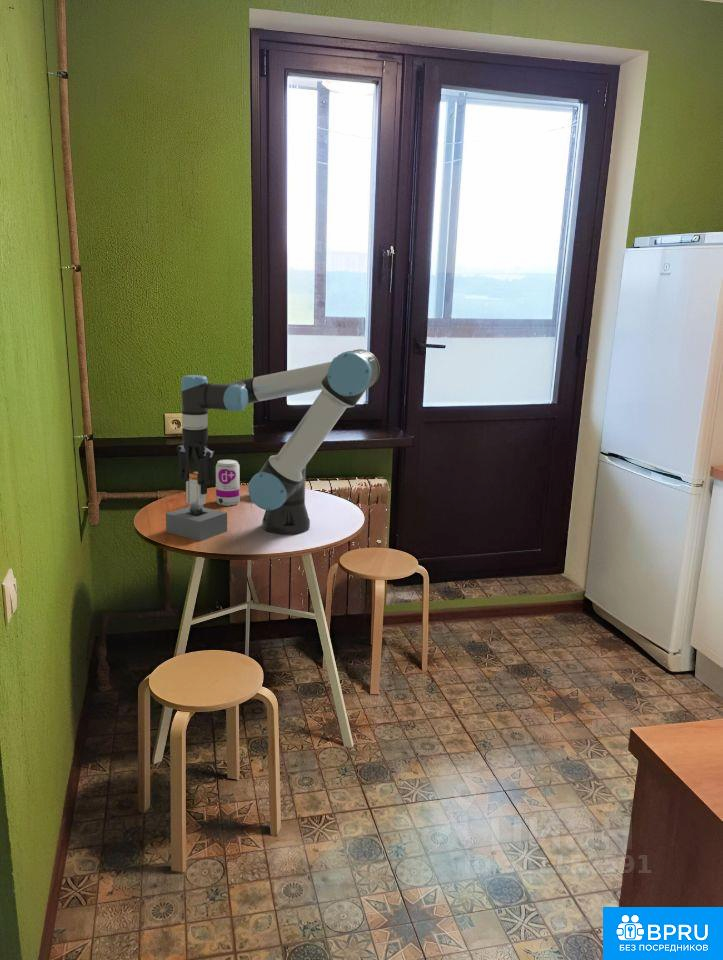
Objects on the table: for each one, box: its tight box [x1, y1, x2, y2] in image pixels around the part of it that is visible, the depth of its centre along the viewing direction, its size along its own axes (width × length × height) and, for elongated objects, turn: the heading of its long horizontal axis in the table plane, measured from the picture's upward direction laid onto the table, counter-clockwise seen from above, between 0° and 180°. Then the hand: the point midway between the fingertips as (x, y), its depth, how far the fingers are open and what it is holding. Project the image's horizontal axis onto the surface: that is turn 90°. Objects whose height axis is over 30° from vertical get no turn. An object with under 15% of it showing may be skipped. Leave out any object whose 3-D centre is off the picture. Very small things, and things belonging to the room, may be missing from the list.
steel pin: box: [189, 471, 204, 516], centre depth 226 cm, size 4×4×14 cm
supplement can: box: [215, 459, 241, 507], centre depth 259 cm, size 8×8×15 cm
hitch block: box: [165, 505, 228, 542], centre depth 228 cm, size 14×12×6 cm
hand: (196, 502), depth 226 cm, fingers closed on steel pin, 4 cm apart
